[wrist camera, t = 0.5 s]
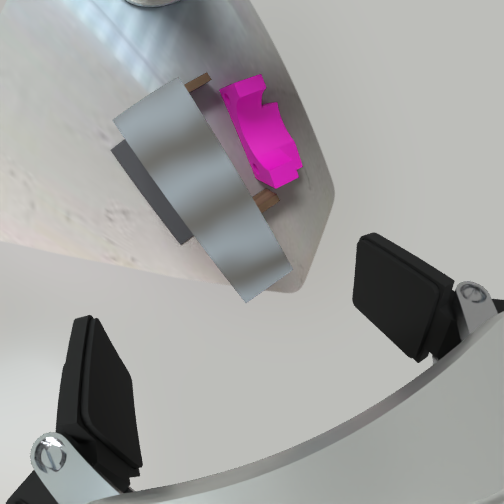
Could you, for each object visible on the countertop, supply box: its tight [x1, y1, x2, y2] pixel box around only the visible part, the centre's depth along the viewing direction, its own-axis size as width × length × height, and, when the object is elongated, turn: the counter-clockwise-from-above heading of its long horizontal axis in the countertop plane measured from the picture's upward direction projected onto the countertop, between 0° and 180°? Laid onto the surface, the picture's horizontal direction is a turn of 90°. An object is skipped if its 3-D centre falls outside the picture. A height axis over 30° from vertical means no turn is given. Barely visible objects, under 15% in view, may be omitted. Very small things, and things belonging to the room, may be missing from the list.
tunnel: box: [113, 73, 293, 303], centre depth 32 cm, size 21×12×18 cm, turn 29°
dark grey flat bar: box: [111, 140, 193, 244], centre depth 39 cm, size 18×2×1 cm, turn 30°
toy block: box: [219, 74, 303, 189], centre depth 37 cm, size 15×6×8 cm, turn 22°
